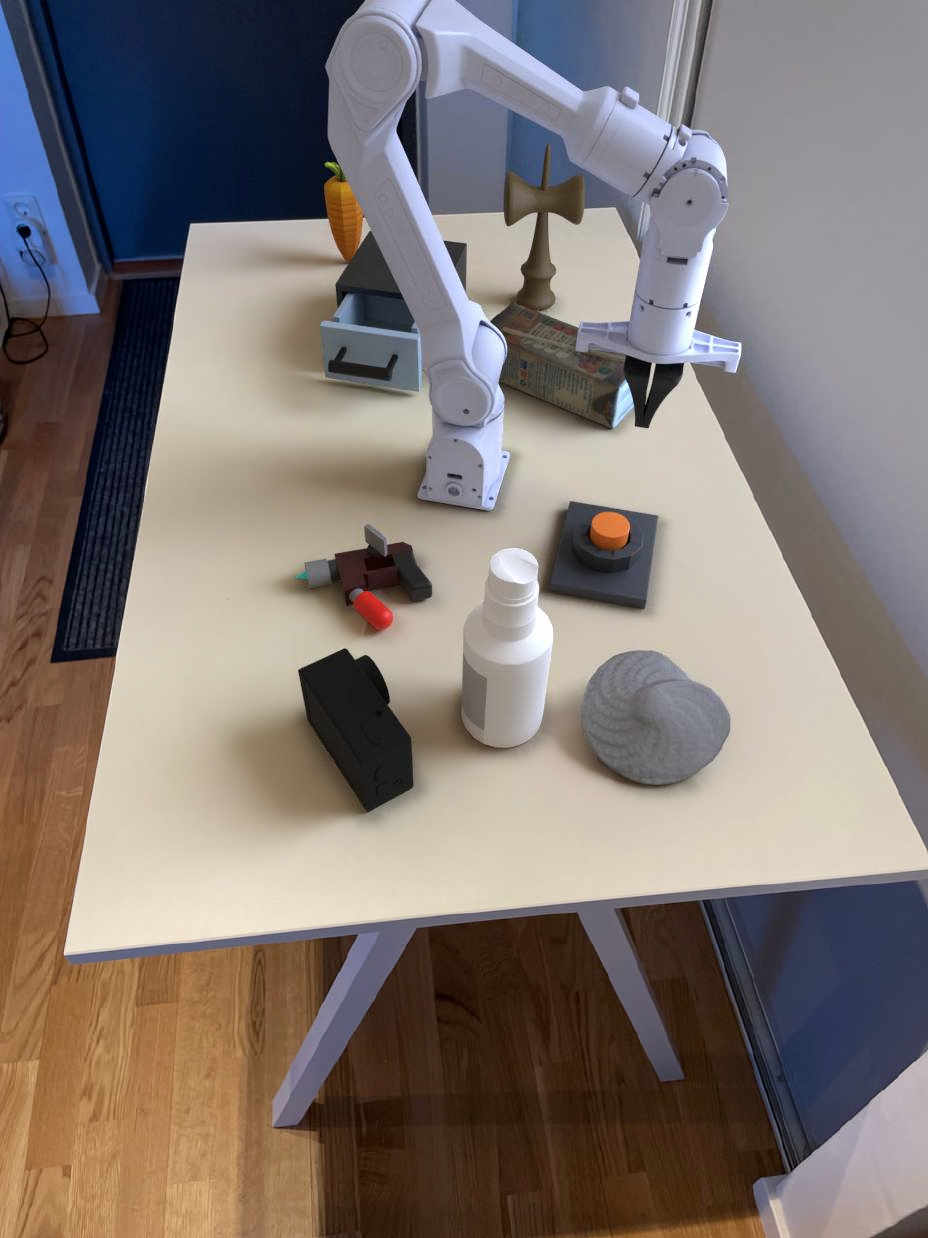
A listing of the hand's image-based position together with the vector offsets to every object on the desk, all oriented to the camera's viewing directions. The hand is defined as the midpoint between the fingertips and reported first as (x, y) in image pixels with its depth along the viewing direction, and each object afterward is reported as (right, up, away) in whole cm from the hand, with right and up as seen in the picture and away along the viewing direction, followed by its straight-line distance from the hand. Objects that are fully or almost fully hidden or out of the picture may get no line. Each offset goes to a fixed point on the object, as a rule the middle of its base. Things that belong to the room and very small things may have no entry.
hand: (642, 421), depth 89 cm
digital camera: (-25, -30, -15) cm, 42 cm away
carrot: (-33, +30, +38) cm, 59 cm away
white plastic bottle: (-14, -27, -12) cm, 33 cm away
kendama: (-8, +22, +32) cm, 40 cm away
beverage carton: (-6, +8, +19) cm, 22 cm away
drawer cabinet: (-25, +18, +27) cm, 41 cm away
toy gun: (-27, -17, -4) cm, 32 cm away
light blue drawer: (-27, +11, +20) cm, 35 cm away
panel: (-4, -13, 0) cm, 14 cm away
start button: (-4, -11, -1) cm, 12 cm away
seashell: (-2, -29, -13) cm, 32 cm away
